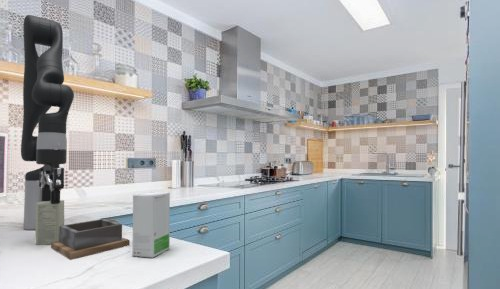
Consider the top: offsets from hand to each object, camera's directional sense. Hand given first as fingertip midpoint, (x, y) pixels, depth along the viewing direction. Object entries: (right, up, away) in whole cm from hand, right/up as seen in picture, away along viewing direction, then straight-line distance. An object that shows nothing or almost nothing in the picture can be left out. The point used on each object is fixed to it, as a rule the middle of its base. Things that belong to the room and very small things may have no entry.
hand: (50, 202), depth 86 cm
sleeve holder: (+15, -12, -5) cm, 19 cm away
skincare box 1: (0, -12, 0) cm, 12 cm away
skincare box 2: (+34, -11, -10) cm, 37 cm away
